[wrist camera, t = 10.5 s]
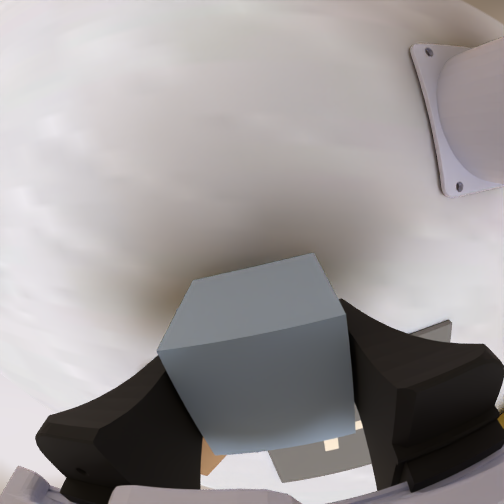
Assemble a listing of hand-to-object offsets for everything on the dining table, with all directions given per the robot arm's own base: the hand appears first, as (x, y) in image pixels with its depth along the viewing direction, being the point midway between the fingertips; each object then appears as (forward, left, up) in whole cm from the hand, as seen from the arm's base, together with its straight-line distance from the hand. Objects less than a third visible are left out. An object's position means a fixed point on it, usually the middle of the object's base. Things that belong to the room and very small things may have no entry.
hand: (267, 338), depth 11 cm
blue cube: (0, 0, -2) cm, 2 cm away
